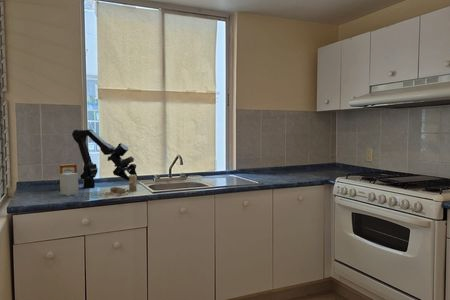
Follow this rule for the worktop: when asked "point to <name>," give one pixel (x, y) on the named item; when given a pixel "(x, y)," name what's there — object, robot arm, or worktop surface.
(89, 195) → the worktop surface
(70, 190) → the supplement box
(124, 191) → the balance ridge
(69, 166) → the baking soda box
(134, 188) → the beech dowel
